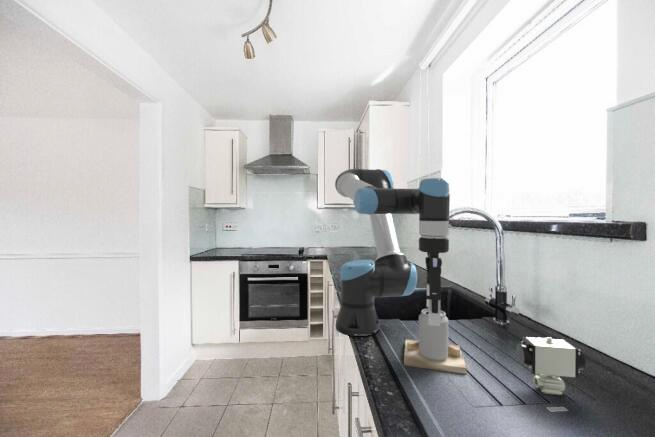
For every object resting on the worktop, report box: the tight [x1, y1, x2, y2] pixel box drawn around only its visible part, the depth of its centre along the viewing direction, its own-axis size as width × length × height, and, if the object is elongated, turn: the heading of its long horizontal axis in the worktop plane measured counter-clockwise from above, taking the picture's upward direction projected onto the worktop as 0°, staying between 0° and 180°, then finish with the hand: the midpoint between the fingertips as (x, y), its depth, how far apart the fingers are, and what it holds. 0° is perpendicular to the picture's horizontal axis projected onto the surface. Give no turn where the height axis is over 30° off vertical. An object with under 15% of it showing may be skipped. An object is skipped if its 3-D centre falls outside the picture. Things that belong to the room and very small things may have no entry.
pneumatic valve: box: [515, 336, 587, 396], centre depth 66 cm, size 6×12×12 cm, turn 78°
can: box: [418, 308, 449, 361], centre depth 78 cm, size 8×8×12 cm
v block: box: [403, 339, 468, 375], centre depth 80 cm, size 13×15×4 cm
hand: (432, 315), depth 78 cm, fingers open, 13 cm apart
